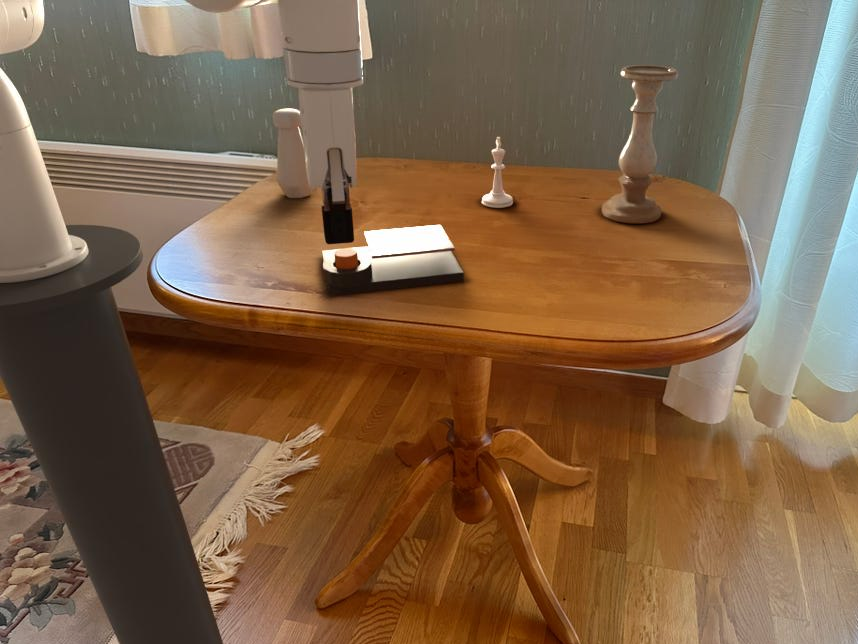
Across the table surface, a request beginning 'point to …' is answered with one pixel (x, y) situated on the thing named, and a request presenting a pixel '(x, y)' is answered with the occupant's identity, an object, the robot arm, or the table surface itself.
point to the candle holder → (639, 148)
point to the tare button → (346, 258)
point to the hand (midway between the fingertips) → (339, 240)
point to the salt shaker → (291, 154)
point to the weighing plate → (407, 241)
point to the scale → (390, 272)
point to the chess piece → (497, 182)
